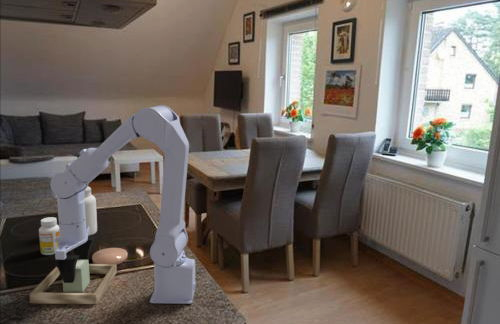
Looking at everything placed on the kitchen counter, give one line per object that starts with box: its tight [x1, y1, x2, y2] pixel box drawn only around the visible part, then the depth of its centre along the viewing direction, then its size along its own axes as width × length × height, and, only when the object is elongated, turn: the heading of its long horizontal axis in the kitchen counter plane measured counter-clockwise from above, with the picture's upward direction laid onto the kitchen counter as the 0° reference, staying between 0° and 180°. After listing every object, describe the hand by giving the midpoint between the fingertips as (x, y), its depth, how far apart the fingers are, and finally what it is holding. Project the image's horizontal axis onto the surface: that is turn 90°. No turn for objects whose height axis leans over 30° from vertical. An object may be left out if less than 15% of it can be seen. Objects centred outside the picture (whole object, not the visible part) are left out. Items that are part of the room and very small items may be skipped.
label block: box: [62, 259, 91, 293], centre depth 93 cm, size 4×4×6 cm
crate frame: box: [29, 263, 118, 305], centre depth 93 cm, size 15×15×2 cm
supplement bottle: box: [38, 216, 60, 256], centre depth 111 cm, size 5×5×10 cm
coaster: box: [91, 247, 128, 265], centre depth 108 cm, size 9×9×1 cm
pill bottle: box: [84, 186, 98, 236], centre depth 124 cm, size 8×8×15 cm
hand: (75, 273), depth 93 cm, fingers open, 7 cm apart
